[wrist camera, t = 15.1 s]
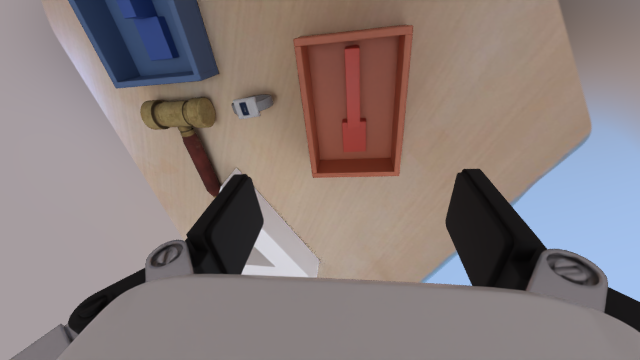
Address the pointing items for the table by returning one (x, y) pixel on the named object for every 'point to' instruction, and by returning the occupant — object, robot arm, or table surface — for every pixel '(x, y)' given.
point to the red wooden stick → (353, 104)
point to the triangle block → (278, 247)
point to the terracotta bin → (375, 99)
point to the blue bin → (128, 48)
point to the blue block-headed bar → (150, 28)
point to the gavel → (186, 130)
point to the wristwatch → (251, 105)
